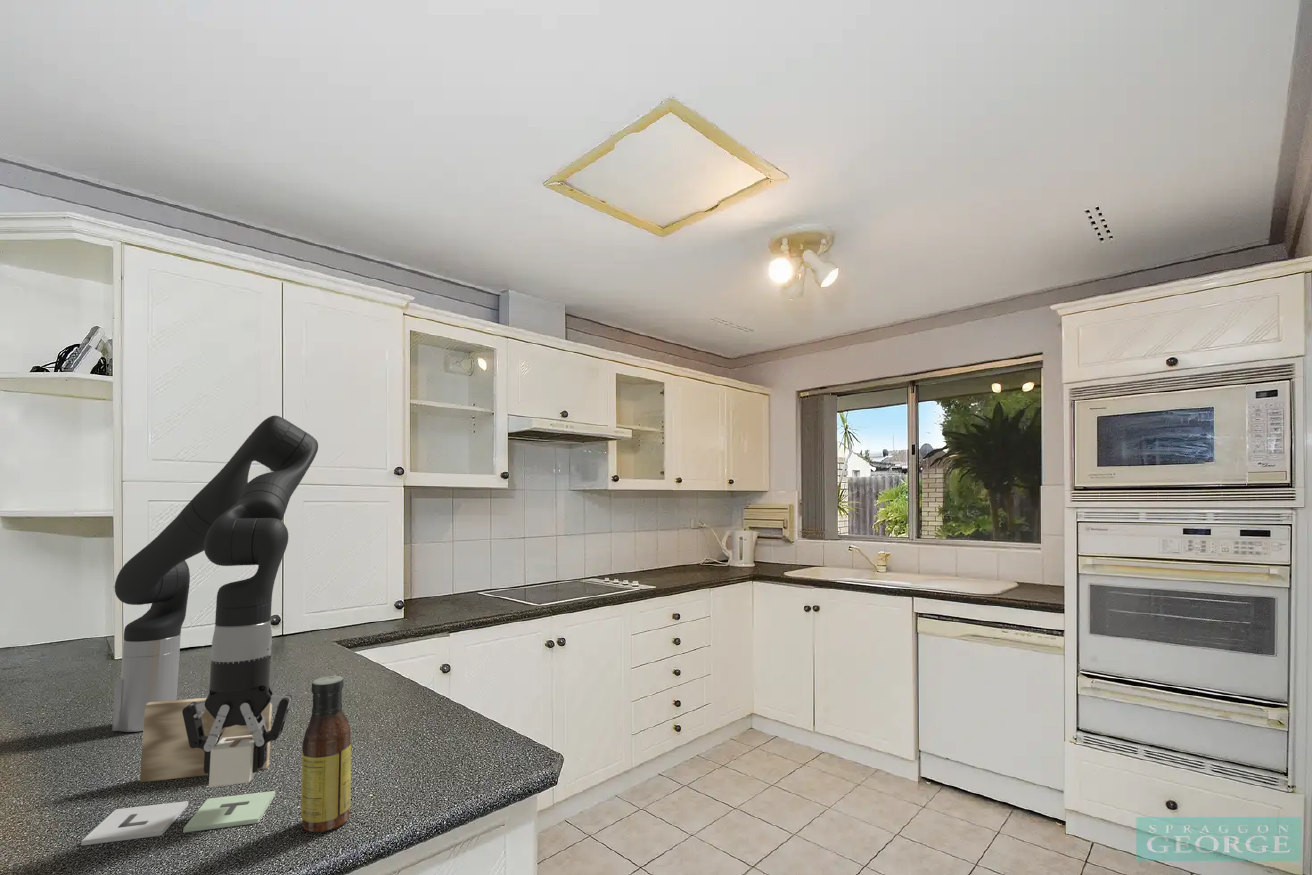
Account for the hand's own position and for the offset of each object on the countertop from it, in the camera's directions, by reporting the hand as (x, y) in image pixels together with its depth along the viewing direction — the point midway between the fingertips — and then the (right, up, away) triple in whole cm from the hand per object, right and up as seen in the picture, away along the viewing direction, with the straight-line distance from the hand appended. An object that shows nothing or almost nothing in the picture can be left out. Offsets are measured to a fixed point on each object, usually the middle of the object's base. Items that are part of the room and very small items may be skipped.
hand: (235, 772), depth 95 cm
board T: (0, -6, -1) cm, 6 cm away
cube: (0, -1, 0) cm, 1 cm away
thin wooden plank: (-13, -7, +13) cm, 19 cm away
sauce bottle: (+15, -5, -4) cm, 16 cm away
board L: (-11, -5, -4) cm, 13 cm away
